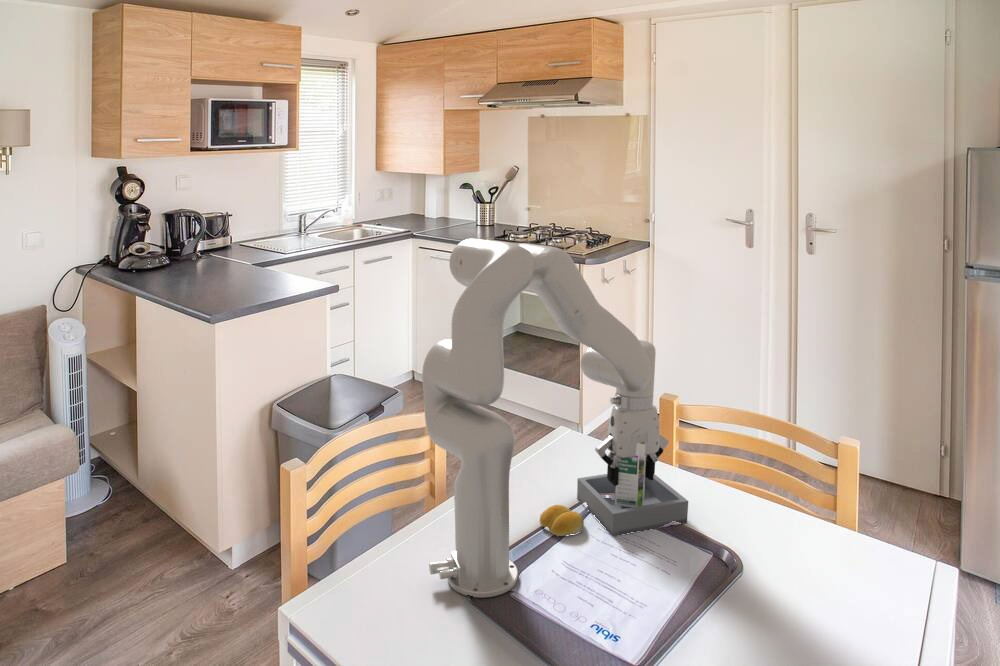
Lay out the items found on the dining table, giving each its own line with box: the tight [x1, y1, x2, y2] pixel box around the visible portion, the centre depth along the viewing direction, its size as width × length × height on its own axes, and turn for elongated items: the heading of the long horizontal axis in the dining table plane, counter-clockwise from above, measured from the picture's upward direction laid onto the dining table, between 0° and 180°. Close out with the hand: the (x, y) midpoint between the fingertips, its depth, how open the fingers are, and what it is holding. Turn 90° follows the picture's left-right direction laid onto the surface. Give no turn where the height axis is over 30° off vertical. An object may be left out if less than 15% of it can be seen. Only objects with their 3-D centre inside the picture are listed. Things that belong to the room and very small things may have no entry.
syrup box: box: [615, 442, 646, 507], centre depth 149 cm, size 6×6×14 cm
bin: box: [576, 473, 689, 537], centre depth 151 cm, size 17×17×5 cm
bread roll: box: [539, 504, 585, 537], centre depth 144 cm, size 8×9×4 cm
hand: (630, 479), depth 149 cm, fingers closed on syrup box, 7 cm apart
